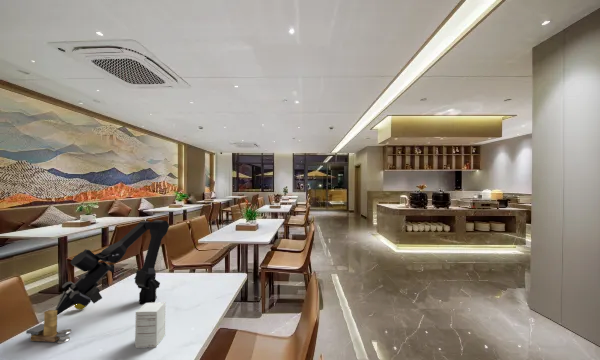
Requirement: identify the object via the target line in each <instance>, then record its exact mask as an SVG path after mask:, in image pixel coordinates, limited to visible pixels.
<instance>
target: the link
mask: <svg viewBox="0 0 600 360" xmlns="http://www.w3.org/2000/svg"><path fill="white" fill-rule="evenodd" d="M43 314H44V315H43V317H44V318H43V319H44V320H43V324H44V332H43V333H41V334H39V335H35V334H34V335H32V336H31V335H30V342H31V341H32V342H49V343H50V342H52V343H53V342H54V343H55V342H57V341H58V340H59V337H56V334H57V333H58V332H59V331H58V315H57V310H54V309H48V310H46V311H44V313H43Z"/></svg>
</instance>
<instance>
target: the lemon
mask: <svg viewBox="0 0 600 360" xmlns="http://www.w3.org/2000/svg"><path fill="white" fill-rule="evenodd" d="M74 305H75V306H74ZM74 305H73V306H74V308H75V309H77V310H80V311H83V310H84V309H85V308H86V307H87V306H84V305H82V304H77V305H76V304H74Z"/></svg>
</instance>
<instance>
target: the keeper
mask: <svg viewBox="0 0 600 360" xmlns="http://www.w3.org/2000/svg"><path fill="white" fill-rule="evenodd" d="M25 331H26V332H25V333H26V334H28V335H29V334H30V337H31V336H32V335H34V334H35V335H39V334H41V333H43V332H44V323H40V324H38V325H35V326H33V327H32V328H31V327H30V328H29V329H27V330H25Z"/></svg>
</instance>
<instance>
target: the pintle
mask: <svg viewBox="0 0 600 360" xmlns="http://www.w3.org/2000/svg"><path fill="white" fill-rule="evenodd" d="M57 332H58V333H57V334H56V337H59V339H58V340H57V341H56V343H57V344H58V345H59V344H64V343H67V342H68V341H70V340H71V337H70V336H69V335H71V333H72V329H70V328H69V329H63V330H60V331H57Z"/></svg>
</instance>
